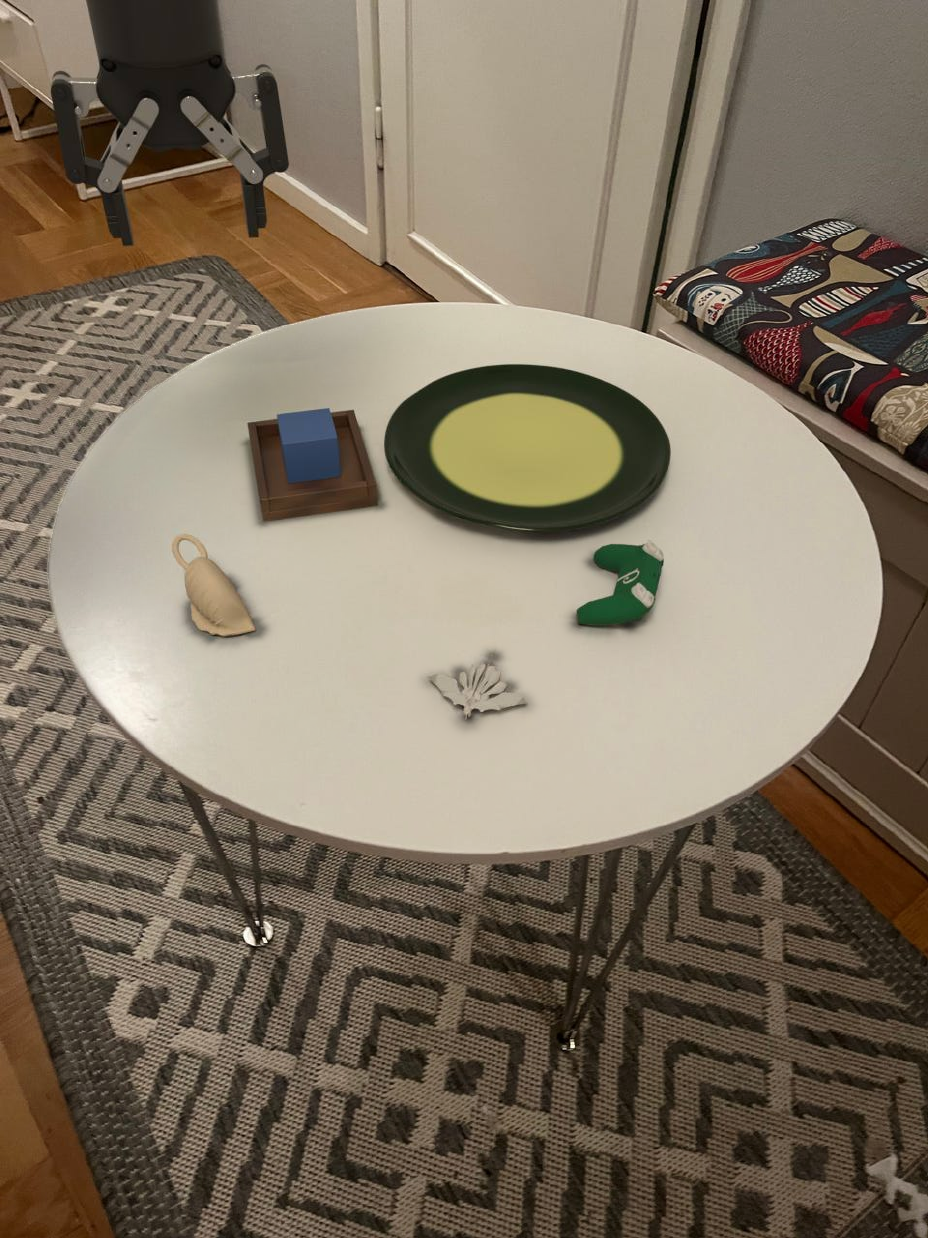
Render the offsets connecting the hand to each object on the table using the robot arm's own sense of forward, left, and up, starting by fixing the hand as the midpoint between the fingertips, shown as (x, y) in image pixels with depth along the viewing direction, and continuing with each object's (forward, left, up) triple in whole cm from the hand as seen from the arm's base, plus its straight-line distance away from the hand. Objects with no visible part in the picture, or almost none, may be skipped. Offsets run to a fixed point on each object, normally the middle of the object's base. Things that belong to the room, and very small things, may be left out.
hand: (191, 237), depth 67 cm
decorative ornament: (-3, -10, -27) cm, 29 cm away
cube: (+7, +7, -26) cm, 28 cm away
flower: (+16, -23, -27) cm, 39 cm away
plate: (+28, +5, -27) cm, 39 cm away
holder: (+7, +7, -27) cm, 29 cm away
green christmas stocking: (+30, -16, -27) cm, 43 cm away
